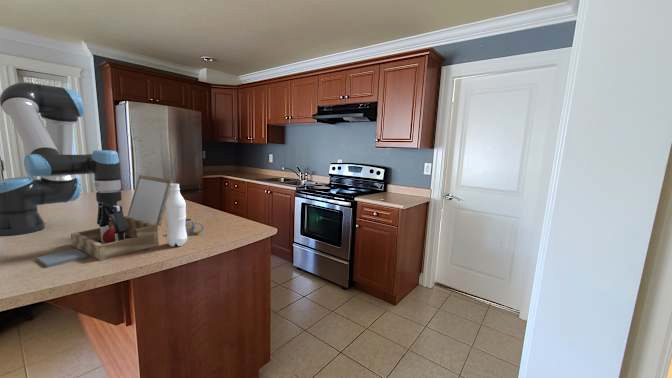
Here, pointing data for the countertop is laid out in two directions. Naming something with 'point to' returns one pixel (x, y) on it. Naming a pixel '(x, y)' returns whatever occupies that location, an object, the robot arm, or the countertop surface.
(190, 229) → the mug
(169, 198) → the water bottle
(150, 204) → the lid
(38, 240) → the countertop surface
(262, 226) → the countertop surface
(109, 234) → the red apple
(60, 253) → the slate mat
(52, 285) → the countertop surface
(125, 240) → the box
